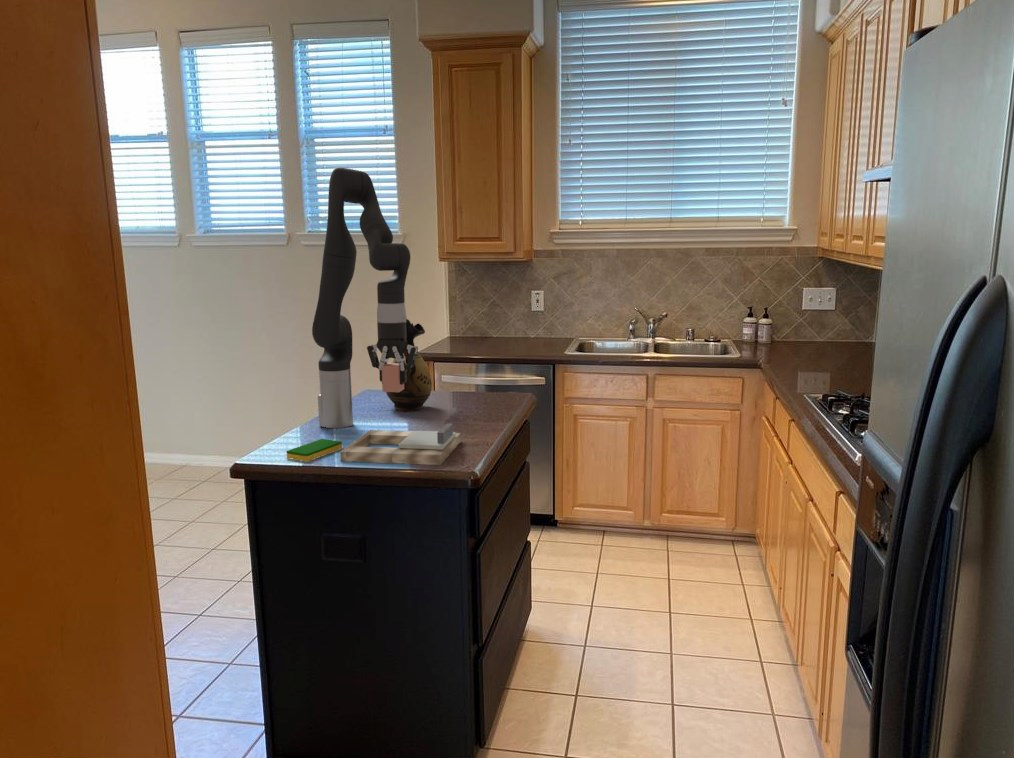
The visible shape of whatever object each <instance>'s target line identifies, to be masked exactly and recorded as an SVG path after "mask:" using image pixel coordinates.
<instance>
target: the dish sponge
mask: <svg viewBox="0 0 1014 758" xmlns="http://www.w3.org/2000/svg"><path fill="white" fill-rule="evenodd" d="M339 449H340V450H343V441H340V440H333V439H327V438H324V439H323V438H320V439H318V440H315V441H311V442H308V443H306V444H303V445H300V446H297V447H295V448H291V449H288V450H286V459H287V458H293V459H298V460H297V461H299V460H303V461H302V462H305V461H308V462H310V461H309V460H311V461H313V460H312V459H314V458H316V459H318V458H317V457H319V456H322V455H324V456H326V455H325V454H327V455H329V454H331V453H330V452H332V453H334V452H333V451H335V452H337V451H340V450H339ZM336 450H337V451H336ZM328 453H329V454H328ZM322 457H323V456H322ZM319 458H320V457H319ZM293 459H292V460H293ZM314 460H315V459H314Z"/></svg>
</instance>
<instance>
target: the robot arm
mask: <svg viewBox="0 0 1014 758" xmlns="http://www.w3.org/2000/svg"><path fill="white" fill-rule="evenodd" d="M328 183H329V184H328V197H327V198H328V200H327V203H328V205H327V223H326V231H325V232H326V234H325V240H324V248H323V254H322V255H323V256H322V262H321V275H320V282H319V283H320V284H319V289H318V290H319V293H318V298H317V299H318V300H317V304H316V308H315V309H316V310H315V314H314V317H313V322H312V327H311V334H312V337H313V341H314V342H315V344H316V345H317V346H319V347H321V348H323V350H324V351H323V353H322V355H321V357H320V358H319V360H318V377H319V394H318V395H317V405H318V406H317V407H318V426H319V427H320V426H322V428H325V427H326V428H327V429H342V428H343V429H344V428H348V427H350V426H351V427H352V426H353V425H354V415H353V414H354V413H353V412H354V411H353V394H352V393H353V392H352V391H353V390H352V389H353V388H352V375H351V374H352V372H351V362H352V359H353V329H352V325H351V322H350V321H349V319H348V318H347V317H345V316H344V315H342V314H341V312H342V306H343V305H342V304H343V301H344V297H345V296H346V293H347V291H348V289H349V287H350V285H351V283H352V280H353V277H354V274H355V269H356V261H357V255H358V254H357V248H356V244H355V241H354V239H353V237H352V235H351V233H350V231H349V229H348V225H347V223H346V219H345V203H348V204H349V203H350V204H355V205H356V204H358V205H360V206H361V207H362V209H363V210H362V212H361V214H360V217H359V228H360V230H361V233H362V236H363V237H364V239H365V241H366V242H367V248H368V260H369V264H370V265H371V268H373V269H374V270H375V271H380V272H381V271H382V272H386V271H387V272H388V271H389V272H390V271H393V273H392V274H391V277H390V278H387V279H383V280H379V281H378V283H377V287H376V289H377V290H376V292H377V294H376V295H377V307H376V309H377V310H376V321H377V323H376V324H377V342H376V343H375V344H370V345H368V346H366V350H367V353H368V356H369V359H370V360H369V361H370V363H371V366H372V368H376V369H378V371H379V372H378V373H379V381H380V383H382V365H385V364H387V363H389V360H390V359H393V360H394V359H396V360H397V363H398V364H399V367H400V370H401V371H400V385H403V384H405V382H406V381H407V369H410V368H412V367H413V366H414V363H415V359H416V355H417V351H418V352H419V347H418V346H416V345H414V346H411V345H408V342H407V340H406V319H407V311H406V302H405V298H406V297H405V285H406V282H407V281H406V280H407V276H408V271H409V269H410V264H411V251H410V249H409V247H408V246H407V245H406V244H405V243H403V242H401V243H400V242H396V243H395V242H393V241H394V236H393V232H392V231H391V229H390V226H389V225H388V222H387V221H386V219H385V217H384V216H383V213H382V210H381V207H380V203H379V200H378V195H377V193H376V190H375V185H374V183H373V181H372V179H371V177H370V175H369V174H368V173H367V172H365V171H362V170H358V169H353V168H347V167H339V166H337V167H335V168H333V170H332V172H331V174H330V179H329V181H328ZM406 349H408V353H409V358H408V362H407V364H406V361H405V360H406V359H405V356H404V352H405V351H406ZM378 350H379V352H380V353H381V354H380V359H379V357H378V354H377V352H378Z"/></svg>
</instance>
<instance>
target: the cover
mask: <svg viewBox="0 0 1014 758" xmlns="http://www.w3.org/2000/svg"><path fill="white" fill-rule="evenodd" d="M456 433H457V432H456V431H454V423H448V422H447V423H446V424H444V426H442V427H441V428H440V430H438V431H436V430H435V431H434V430H433V431H432V430H413V432H412V433H411V434H410V435H409V436H407V437H406V438H405V439H404V440H403V441H402V442H400V443H399V444H398V448H412V449H439V450H443V449H444V448H445V447H446V445H447V444H448V443H449V442H450V441H451V440H452V439H453V438H454V437H455V436H456Z"/></svg>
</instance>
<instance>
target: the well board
mask: <svg viewBox="0 0 1014 758" xmlns="http://www.w3.org/2000/svg"><path fill="white" fill-rule="evenodd" d="M413 431H414V430H413ZM413 431H411V430H409V431H408V430H406V431H405V430H379V429H378V430H377V429H375V430H374V429H370V430H369V431H367V432H365V433H364V434H363V435H361V436H359V437H358V438H357V439H355V440H354V441H353V442H351V443H349V444H348V445H347V446H345V448H342V449H341V450H339V451H340V453H339V454H340V462H352V461H358V463H377V464H378V463H379V464H381V463H384V464H402V463H406V464H407V465H429V466H430V465H431V466H442V464H443V463H444V462H445V461H446V460H447V459H448V457H449V456H450V455H451V454H452V453H453V452H454V451H455V450H456V448H457V447H458V446H459V445H460V444H461V443H462V432H456V436H455V437H454V438H453V439H452V440H451V441H450V442H449V443H448V444H447V445H446V447H445V448H444V449H443V450H439V449H412V448H399V447H381V446H380V447H379V446H369V445H371V444H372V445H373V444H374V445H398V444H399V443H400V442H402V441H403V440H404V439H405V438H406V437H407V436H409V435H410V434H411V433H412V432H413ZM370 443H371V444H370ZM459 443H460V444H459ZM458 444H459V445H458ZM457 445H458V446H457ZM453 450H454V451H453ZM452 451H453V452H452ZM451 452H452V453H451ZM450 453H451V454H450ZM449 454H450V455H449ZM446 458H447V459H446ZM445 459H446V460H445Z"/></svg>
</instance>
